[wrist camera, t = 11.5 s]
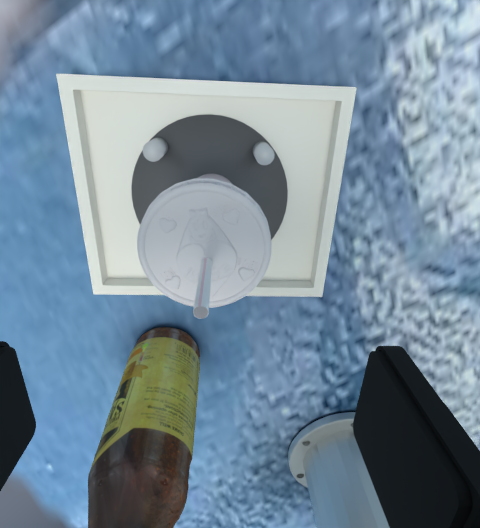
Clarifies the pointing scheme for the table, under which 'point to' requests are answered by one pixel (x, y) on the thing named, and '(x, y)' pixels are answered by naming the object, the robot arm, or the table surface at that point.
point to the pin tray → (206, 166)
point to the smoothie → (204, 243)
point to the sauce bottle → (148, 436)
